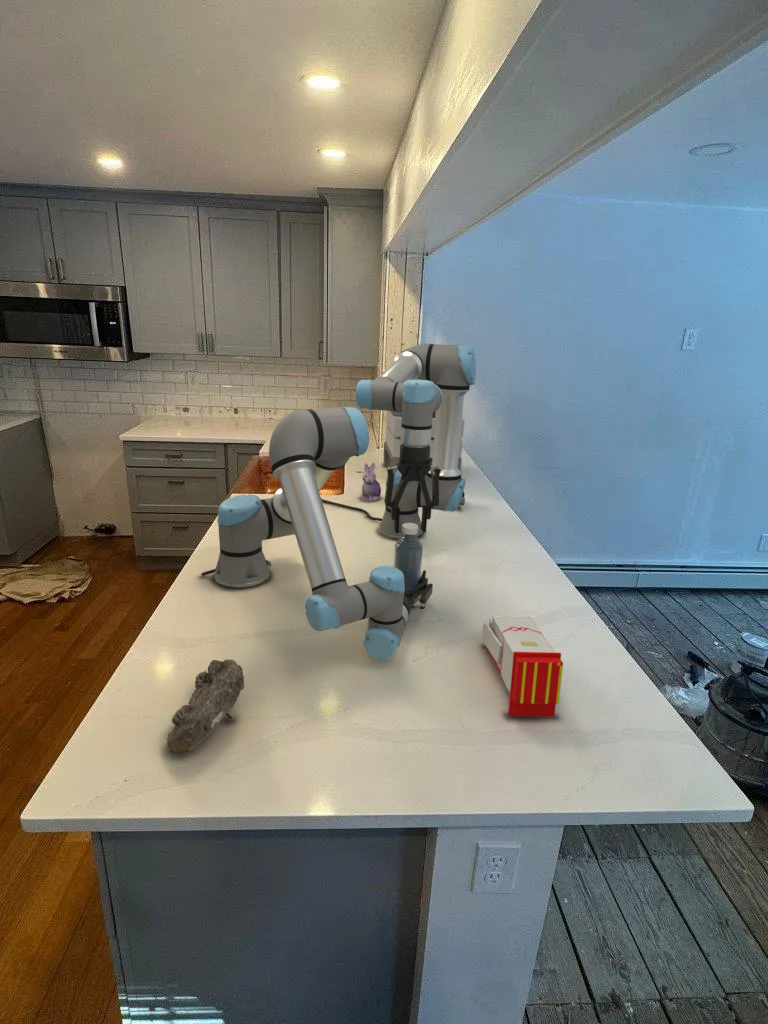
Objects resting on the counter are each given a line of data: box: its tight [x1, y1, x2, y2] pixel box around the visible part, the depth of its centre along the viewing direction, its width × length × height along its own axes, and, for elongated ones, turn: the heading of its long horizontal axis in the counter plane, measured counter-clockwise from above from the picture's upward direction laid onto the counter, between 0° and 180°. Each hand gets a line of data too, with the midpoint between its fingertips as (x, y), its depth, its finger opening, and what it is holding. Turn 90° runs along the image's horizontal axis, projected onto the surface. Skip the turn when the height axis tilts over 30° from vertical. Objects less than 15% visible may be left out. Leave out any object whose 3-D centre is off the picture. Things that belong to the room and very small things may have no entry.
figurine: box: [360, 462, 382, 502], centre depth 233 cm, size 9×10×15 cm
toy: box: [481, 615, 564, 718], centre depth 123 cm, size 12×13×30 cm
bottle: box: [393, 534, 424, 601], centre depth 151 cm, size 7×7×21 cm
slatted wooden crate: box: [383, 411, 465, 472], centre depth 268 cm, size 34×33×41 cm
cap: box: [402, 523, 418, 535], centre depth 148 cm, size 4×4×2 cm
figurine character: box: [457, 490, 466, 510], centre depth 230 cm, size 7×8×15 cm
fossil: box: [166, 658, 245, 754], centre depth 106 cm, size 22×10×15 cm
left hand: (409, 572), depth 157 cm, fingers closed on bottle, 7 cm apart
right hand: (409, 530), depth 148 cm, fingers open, 6 cm apart
